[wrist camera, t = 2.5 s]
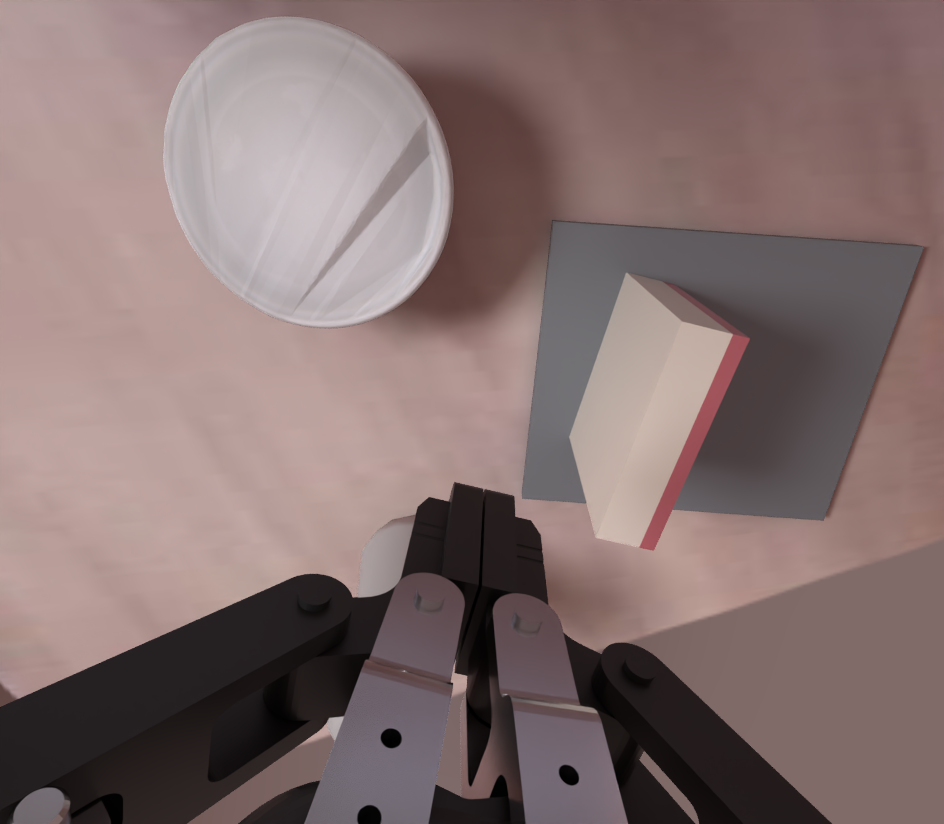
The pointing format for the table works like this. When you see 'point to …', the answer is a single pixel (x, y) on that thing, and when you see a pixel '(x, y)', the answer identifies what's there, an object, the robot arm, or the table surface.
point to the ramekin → (308, 172)
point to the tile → (650, 406)
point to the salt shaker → (381, 569)
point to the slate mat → (761, 366)
